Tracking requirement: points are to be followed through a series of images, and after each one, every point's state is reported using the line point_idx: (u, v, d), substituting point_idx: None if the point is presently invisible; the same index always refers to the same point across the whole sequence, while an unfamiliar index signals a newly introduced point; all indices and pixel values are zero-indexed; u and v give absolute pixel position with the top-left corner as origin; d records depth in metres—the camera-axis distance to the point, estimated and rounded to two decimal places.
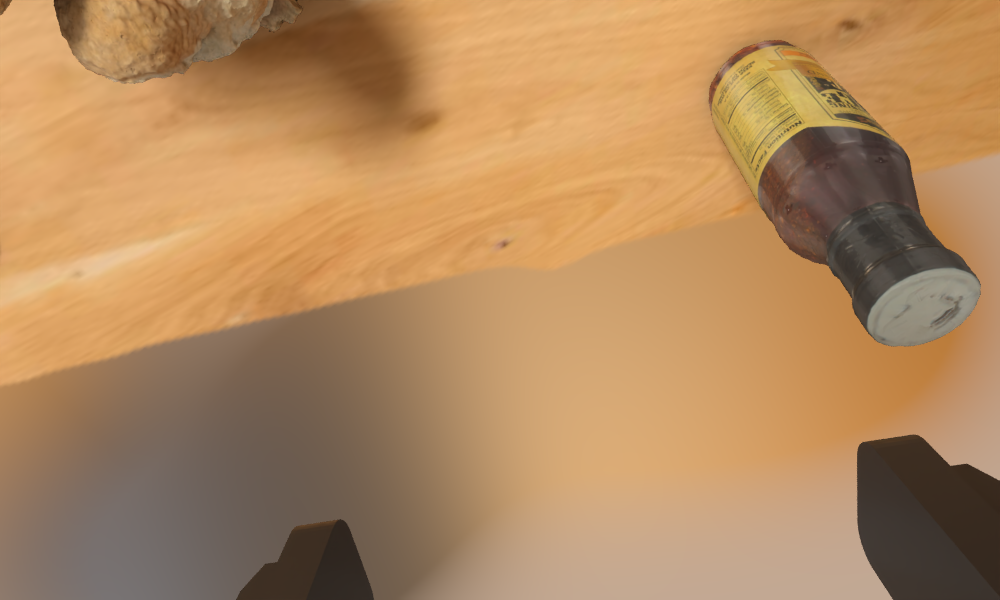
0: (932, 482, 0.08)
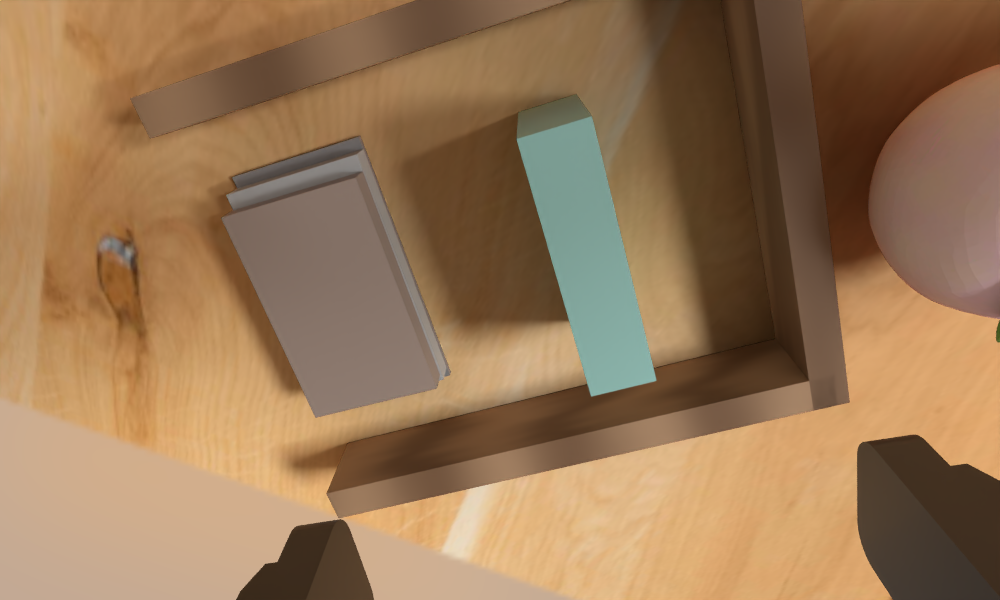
0: (932, 482, 0.08)
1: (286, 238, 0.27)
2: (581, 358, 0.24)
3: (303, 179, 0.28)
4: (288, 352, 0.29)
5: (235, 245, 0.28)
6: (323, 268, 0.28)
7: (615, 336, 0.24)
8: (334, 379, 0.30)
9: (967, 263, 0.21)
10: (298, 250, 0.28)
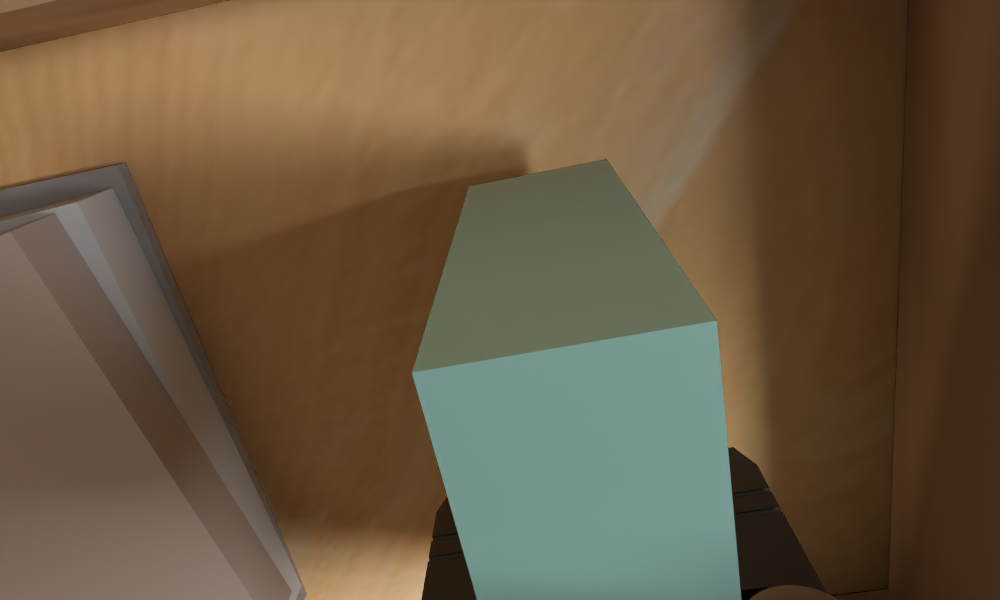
0: None
1: None
2: None
3: None
4: None
5: None
6: None
7: None
8: None
9: None
10: None
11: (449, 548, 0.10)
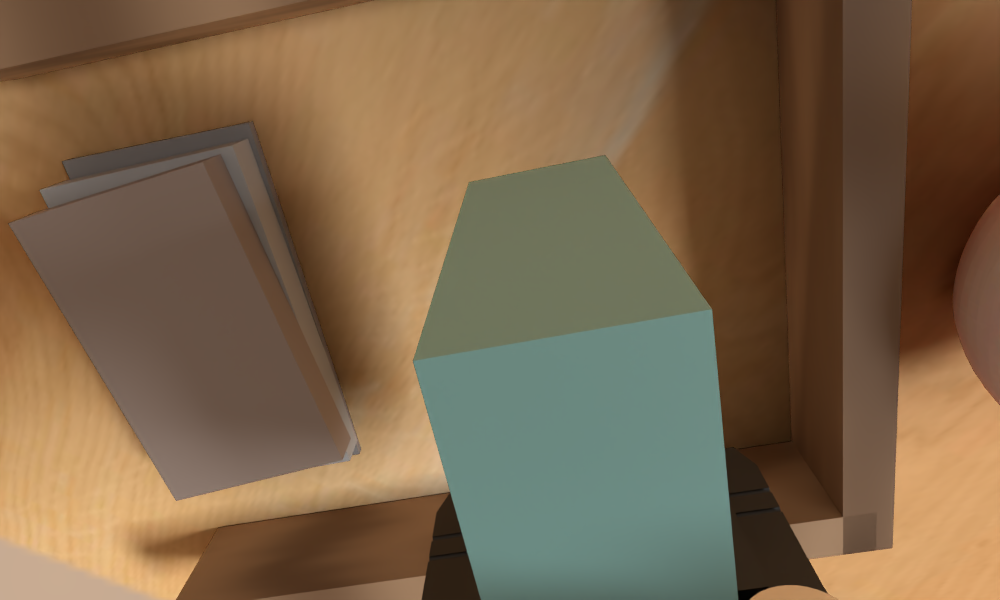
0: None
1: (108, 252, 0.19)
2: None
3: None
4: (128, 413, 0.21)
5: (34, 263, 0.19)
6: (167, 295, 0.19)
7: None
8: (197, 449, 0.21)
9: None
10: (127, 270, 0.19)
11: (449, 548, 0.10)
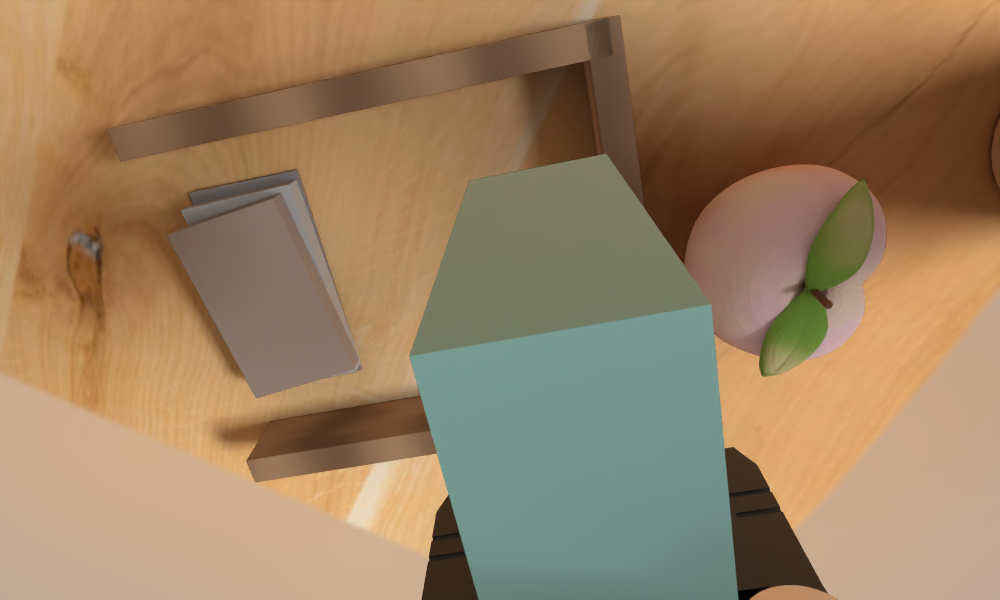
0: None
1: (220, 249, 0.34)
2: None
3: (244, 201, 0.34)
4: (229, 344, 0.36)
5: (179, 257, 0.34)
6: (252, 273, 0.34)
7: None
8: (269, 365, 0.36)
9: (734, 315, 0.29)
10: (231, 259, 0.34)
11: (449, 548, 0.10)
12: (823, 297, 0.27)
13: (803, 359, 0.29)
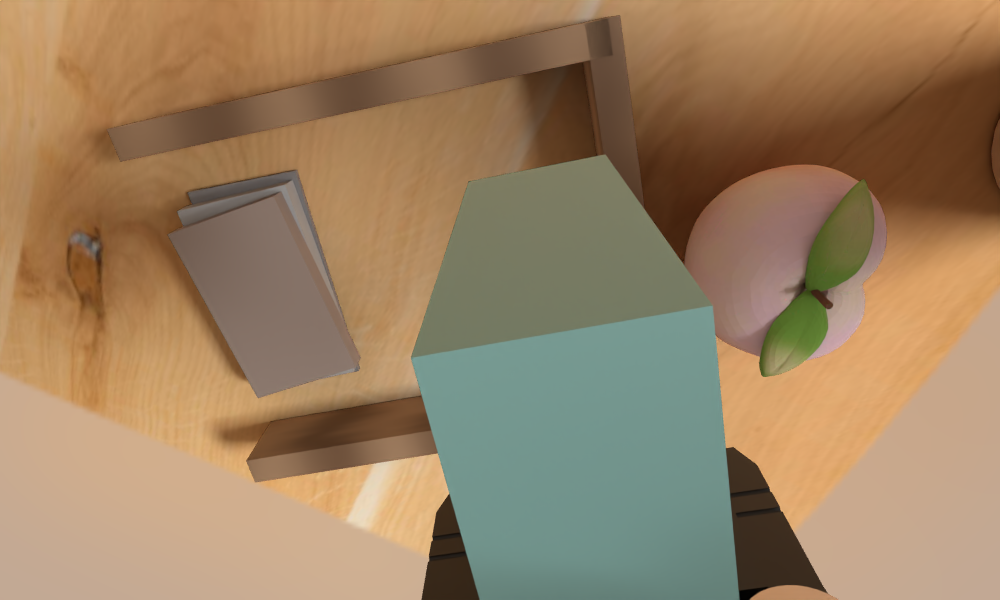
0: None
1: (221, 248, 0.34)
2: None
3: (240, 202, 0.34)
4: (230, 343, 0.36)
5: (180, 256, 0.34)
6: (253, 271, 0.34)
7: None
8: (270, 364, 0.36)
9: (734, 315, 0.29)
10: (232, 257, 0.34)
11: (449, 548, 0.10)
12: (823, 297, 0.27)
13: (803, 359, 0.29)
